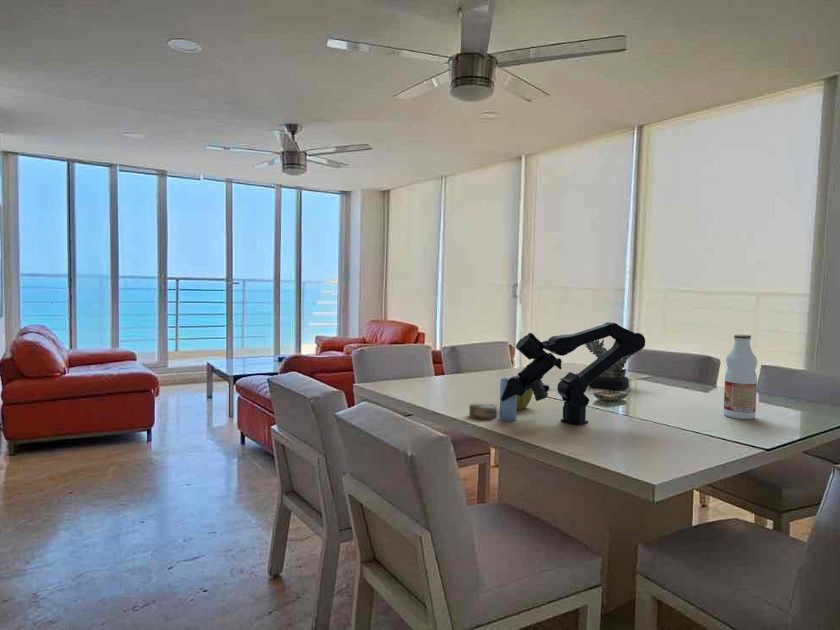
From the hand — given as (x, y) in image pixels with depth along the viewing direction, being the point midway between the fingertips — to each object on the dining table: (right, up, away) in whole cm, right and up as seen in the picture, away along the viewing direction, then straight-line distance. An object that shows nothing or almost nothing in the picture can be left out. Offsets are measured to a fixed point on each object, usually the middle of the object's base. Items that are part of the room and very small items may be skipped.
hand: (504, 398), depth 177 cm
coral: (+57, -4, +61) cm, 83 cm away
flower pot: (+7, -6, +17) cm, 19 cm away
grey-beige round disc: (-7, -6, +3) cm, 10 cm away
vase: (+1, -7, 0) cm, 7 cm away
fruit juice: (+82, -7, +7) cm, 82 cm away
